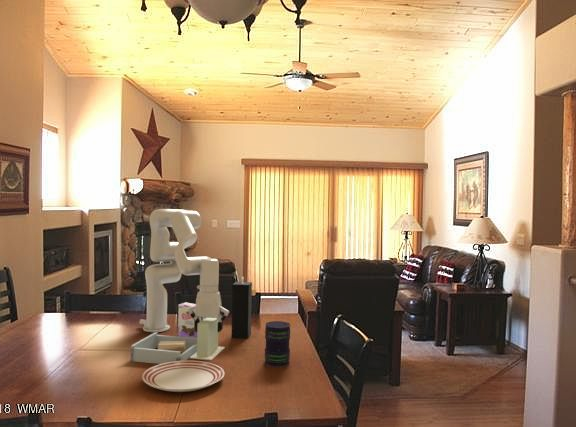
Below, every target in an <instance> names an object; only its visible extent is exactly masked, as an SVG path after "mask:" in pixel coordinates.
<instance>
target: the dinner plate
mask: <svg viewBox="0 0 576 427" xmlns="http://www.w3.org/2000/svg"><path fill="white" fill-rule="evenodd" d="M224 376H225V371H224V368H222V367H221V366H219V365H218V364H214V363H211V362H208V361H200V360H186V361H174V362H167V363H163V364H156V365H154V366H151V367H149V368H148V369H146V370H145V371H144V372H143V373H142V376H141V379H142V381H143V382H144V383H145V384H147V385H148V386H149V387H151V388H154V389H158V390H161V391H166V392H172V393H185V392H188V393H189V392H195V391H199V390H201V389H205V388H208V387H210V386H212V385H214V384H215V383H218V382H220V381H221V380H222V379H224Z"/></svg>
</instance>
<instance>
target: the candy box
mask: <svg viewBox="0 0 576 427" xmlns="http://www.w3.org/2000/svg"><path fill="white" fill-rule="evenodd" d="M194 306H196V303H190V302H187V301H185V302H181V303H180V304H177V336H178V337H190V338H197V330H195V328H194V320H193V318H192V317H191V315H190V313H189V309H190V308H192V307H194ZM193 312H194V313H195V310H193ZM204 319H206V317H199V320H200V322H201V321H203V320H204Z"/></svg>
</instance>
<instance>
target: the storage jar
mask: <svg viewBox="0 0 576 427" xmlns="http://www.w3.org/2000/svg"><path fill="white" fill-rule="evenodd" d="M264 334H265V335H264V337H265V348H264V364H265V365H266V366H269V367H271V368H272V367H273V368H283V367H286V366H288V365H289V366H290V357H291V353H290V352H291V349H290V339H291V323H289V322H287V321H282V320H281V321H280V320H279V321H278V320H274V321H268V322H265V330H264Z"/></svg>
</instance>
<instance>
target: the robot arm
mask: <svg viewBox="0 0 576 427" xmlns="http://www.w3.org/2000/svg"><path fill="white" fill-rule="evenodd" d="M201 225H202V217H201V215H200V213H199V212H198V211H197V210H190V209H183V208H181V209H179V208H177V209H176V208H175V209H174V208H158V209H154V210H153V211H152V212H151V214H150V216H149V226H150V227H149V228H150V231H151V236H150V248H149V258H150V259H151V261H152V262H155V263H156V264H151V265H149V266H147V267H146V268H145V271H144V275H145V276H144V277H145V283H146V319H142V318H141V319H139V325H143V327H142V330H143V332H146V333H155V332H157V333H161V332H166V331H168V330H170V329H171V325H169V324H168V292H167V289H166V287H164V284H171V283H177V282H179V281H180V280H181V278H182V275H184V276H197V275H198V276H199V284H198V285H197V286H196V289H197V290H199V291H197V294H196V299H195V304H196V306H194V307H192V308H190V309H189V313H190V315H191V317H192V318H193V320H194V328H195V330H197V327H198V323H199V322H200V320H199V317H206V318H217V320H218V321H219V322H218V329H217V332H218V333H220V332H221V331H222V330H223V327H224V321H225V320H226V319H227V317H228V316H229V314H230V310H228V309H226V308H225V307H223V306H222V296H221V292H220V291H219V286H220V285H219V281H220V280H219V277H220V276H219V275H220V272H219V271H220V265H219V264H220V262H219V260H218V259H217V258H211V257H209V256H205V255H204V256H203V255H202V256H187V254H186V252H185V249H187V248H189V247H191V246H193V245H194V244H195V243H196V241H197V239H198V235H197V233H196V229H199V228H200V227H201ZM168 228H171V229H172V230H173V233H174V235H175V237H176V240H177V241H170V238H171V237H170V236H171V235H170V231H169V229H168ZM163 262H164V263H163ZM165 262H166V263H165ZM167 262H168V263H167ZM157 263H158V264H157ZM193 310H195V313H194V312H193ZM222 313H224V314H223V315H222Z"/></svg>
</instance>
